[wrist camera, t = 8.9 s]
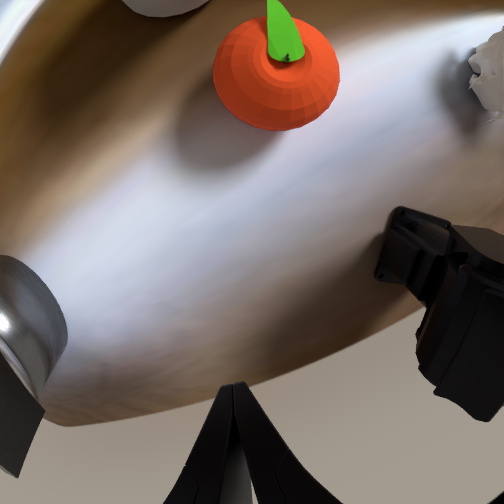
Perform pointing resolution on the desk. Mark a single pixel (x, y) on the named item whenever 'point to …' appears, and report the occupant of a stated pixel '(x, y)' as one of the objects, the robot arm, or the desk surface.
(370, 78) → the desk surface
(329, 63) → the clementine
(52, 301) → the pot
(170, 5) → the can
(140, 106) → the desk surface
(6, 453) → the lid
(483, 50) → the elephant figurine
